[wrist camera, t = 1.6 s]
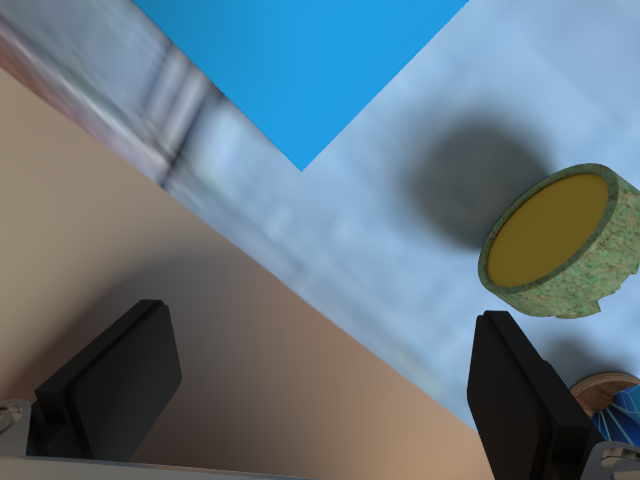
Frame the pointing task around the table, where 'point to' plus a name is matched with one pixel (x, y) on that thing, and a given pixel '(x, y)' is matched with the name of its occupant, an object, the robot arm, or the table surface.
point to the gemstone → (612, 405)
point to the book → (300, 57)
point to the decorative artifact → (564, 243)
